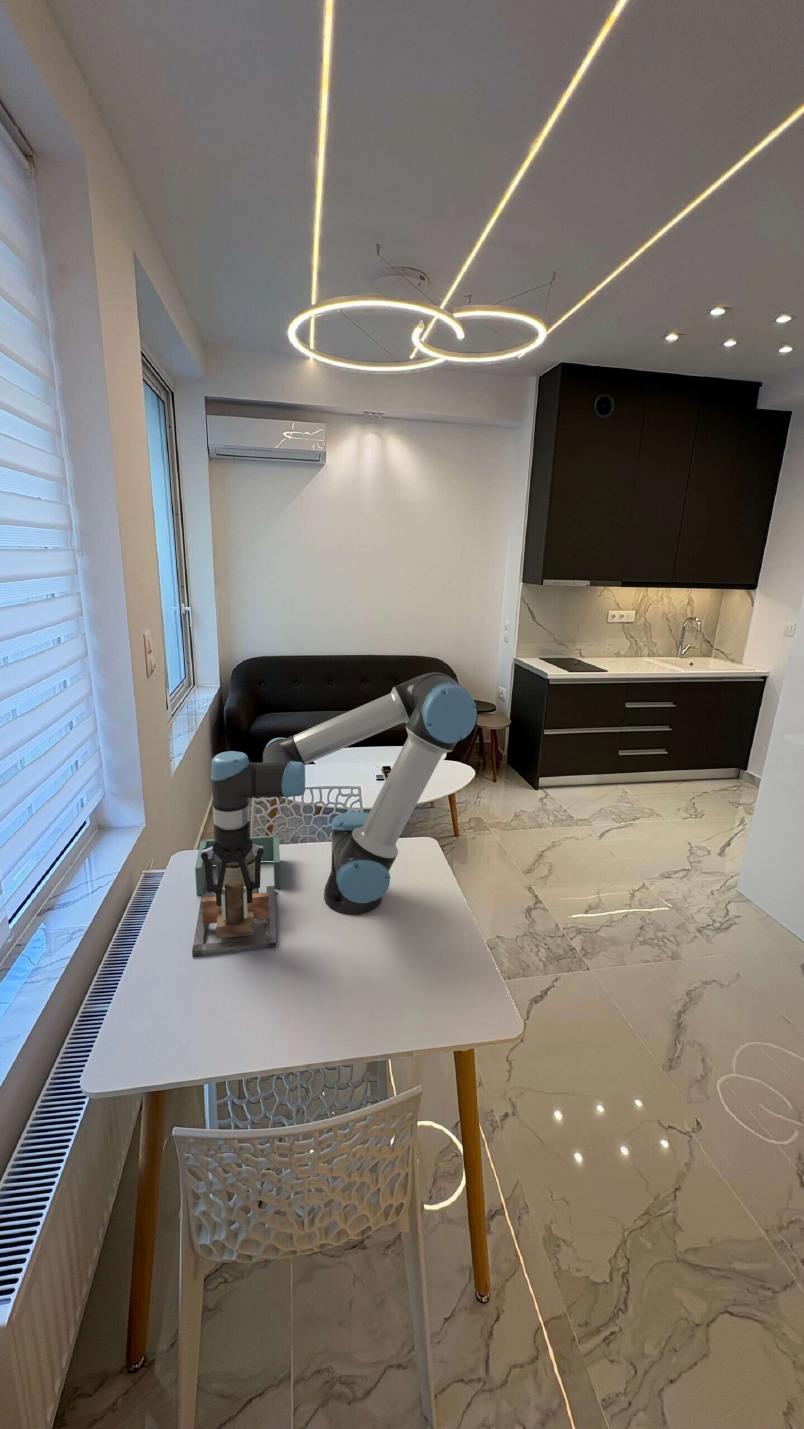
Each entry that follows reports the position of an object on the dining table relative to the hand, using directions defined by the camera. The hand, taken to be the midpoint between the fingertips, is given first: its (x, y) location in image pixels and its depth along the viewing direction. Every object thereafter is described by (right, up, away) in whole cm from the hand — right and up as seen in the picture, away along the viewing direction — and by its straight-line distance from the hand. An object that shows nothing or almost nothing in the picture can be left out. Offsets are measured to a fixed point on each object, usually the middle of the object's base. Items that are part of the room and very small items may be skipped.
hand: (235, 915), depth 133 cm
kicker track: (-2, -4, +8) cm, 9 cm away
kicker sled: (-1, -3, +3) cm, 4 cm away
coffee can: (-3, -2, +15) cm, 15 cm away
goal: (-6, +1, +26) cm, 27 cm away
